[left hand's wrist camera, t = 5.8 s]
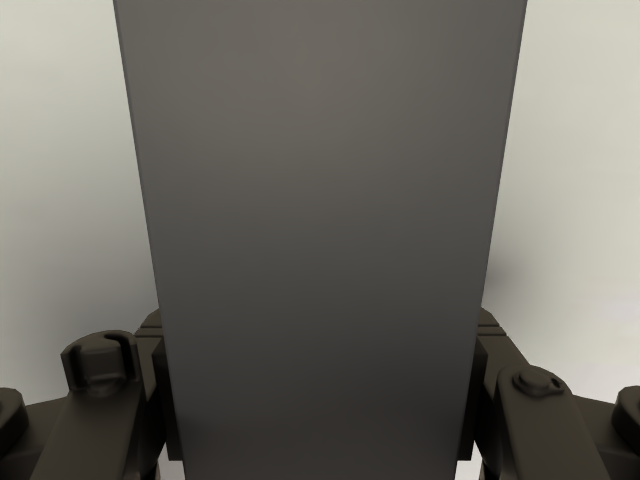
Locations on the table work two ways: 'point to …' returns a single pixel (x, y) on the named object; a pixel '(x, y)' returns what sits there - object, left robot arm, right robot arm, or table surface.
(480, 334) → the left robot arm
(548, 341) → the table surface
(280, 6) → the post
